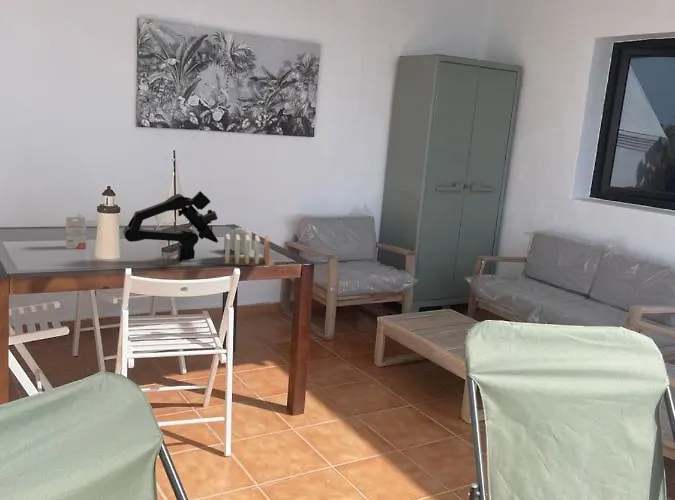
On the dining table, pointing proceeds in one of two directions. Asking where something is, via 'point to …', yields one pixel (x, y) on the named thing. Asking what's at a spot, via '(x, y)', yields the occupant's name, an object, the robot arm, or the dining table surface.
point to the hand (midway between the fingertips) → (217, 241)
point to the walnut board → (251, 261)
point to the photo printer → (241, 238)
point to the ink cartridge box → (75, 233)
